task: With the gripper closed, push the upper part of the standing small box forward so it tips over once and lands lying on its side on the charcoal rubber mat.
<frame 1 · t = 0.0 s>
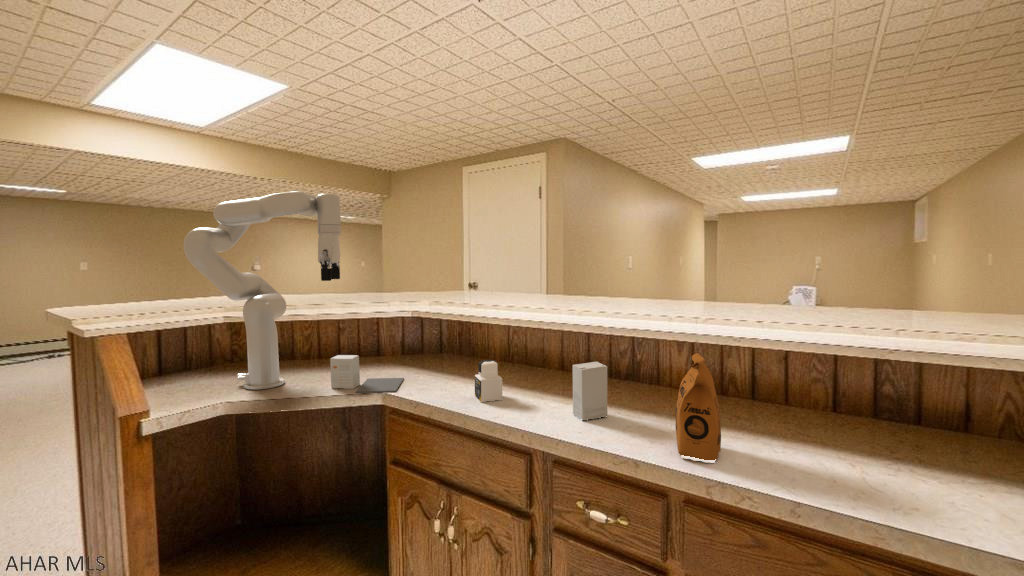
hand: (330, 279, 162), 37 cm above the worktop, tool pointing down, fingers open, 9 cm apart
mat: (381, 385, 162), on the worktop
coffee package: (696, 453, 107), on the worktop
medicine bottle: (488, 398, 148), on the worktop
small box: (345, 387, 161), on the worktop
skincare box: (589, 417, 131), on the worktop
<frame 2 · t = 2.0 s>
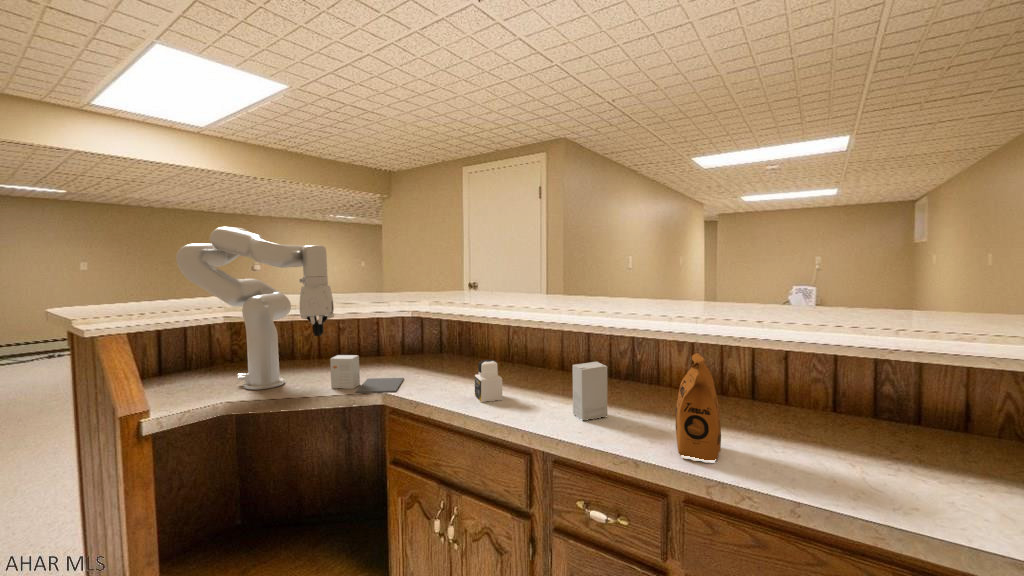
hand: (318, 335, 159), 18 cm above the worktop, tool pointing down, fingers closed
nothing on the worktop moved.
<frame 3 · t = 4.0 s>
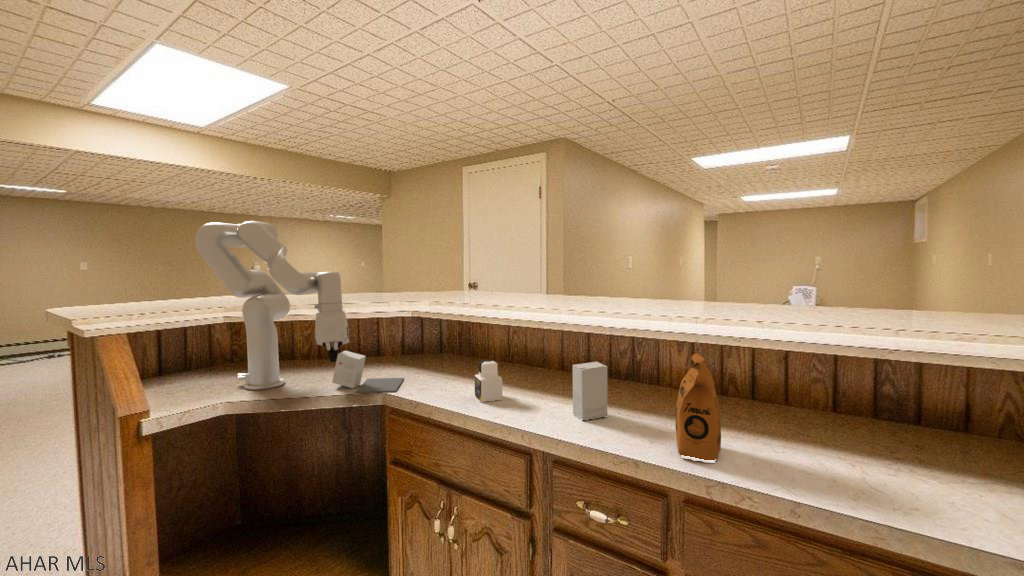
hand: (334, 360, 160), 9 cm above the worktop, tool pointing down, fingers closed
small box: (345, 384, 161), point 1 cm above the worktop
everything else where it was.
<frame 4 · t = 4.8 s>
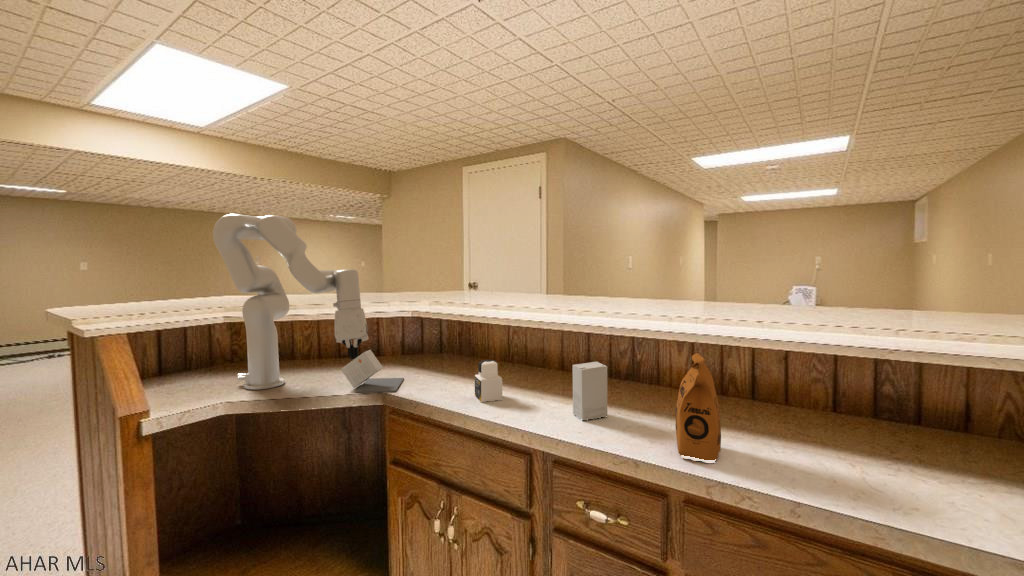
hand: (354, 358, 160), 10 cm above the worktop, tool pointing down, fingers closed
small box: (349, 377, 161), point 3 cm above the worktop, touching gripper
everything else where it was.
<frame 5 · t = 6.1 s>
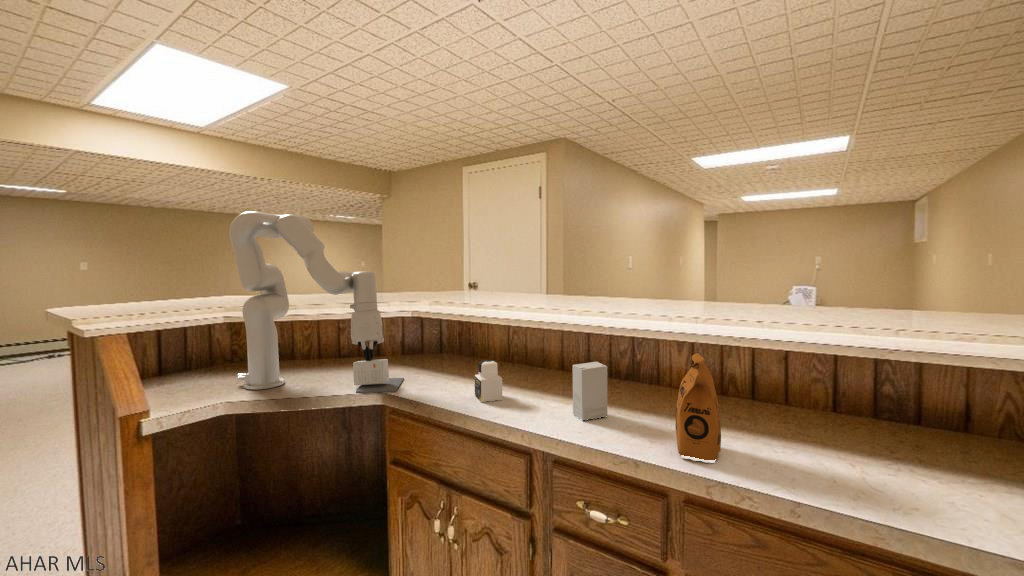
hand: (369, 360, 161), 9 cm above the worktop, tool pointing down, fingers closed
small box: (355, 372, 161), point 5 cm above the worktop, touching gripper, mat
everything else where it was.
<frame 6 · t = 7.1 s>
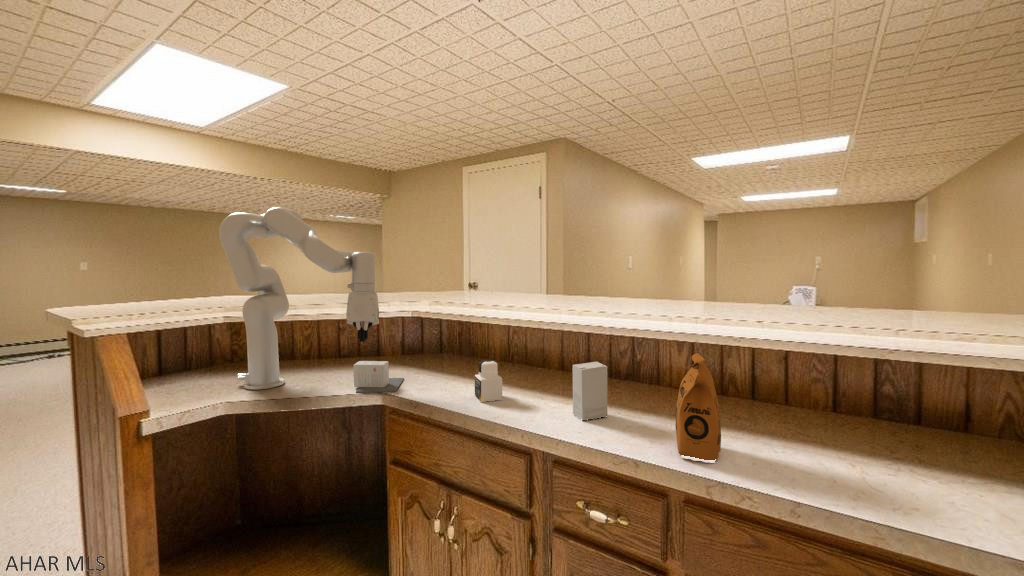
hand: (362, 341, 161), 16 cm above the worktop, tool pointing down, fingers closed
small box: (355, 373, 161), point 5 cm above the worktop, touching mat
everything else where it was.
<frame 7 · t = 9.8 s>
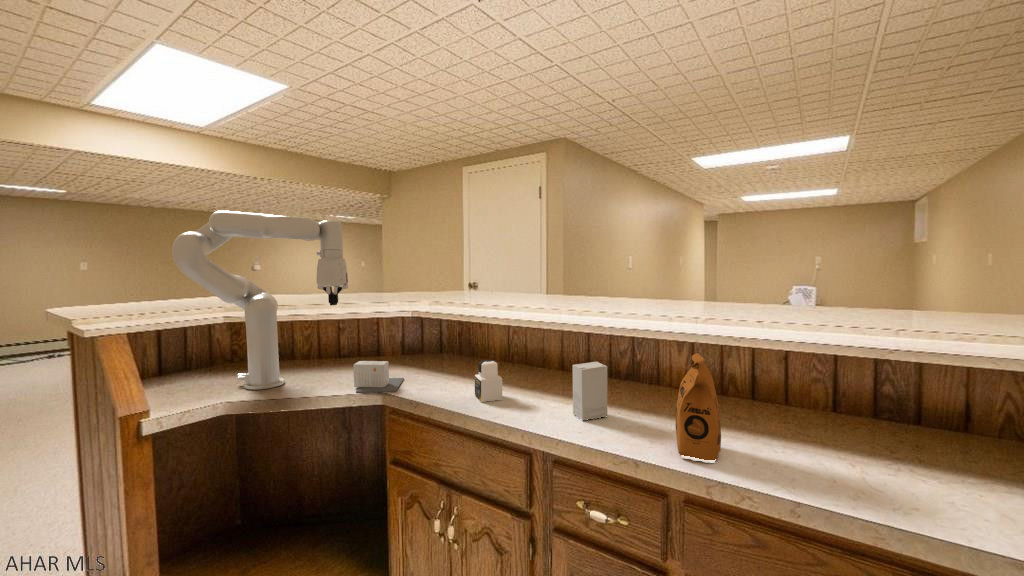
hand: (333, 304, 171), 27 cm above the worktop, tool pointing down, fingers closed
nothing on the worktop moved.
at the end: small box tilted 91°; small box inside the target area (1.9 cm from its centre), point 4.5 cm above the worktop; small box touching mat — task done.
